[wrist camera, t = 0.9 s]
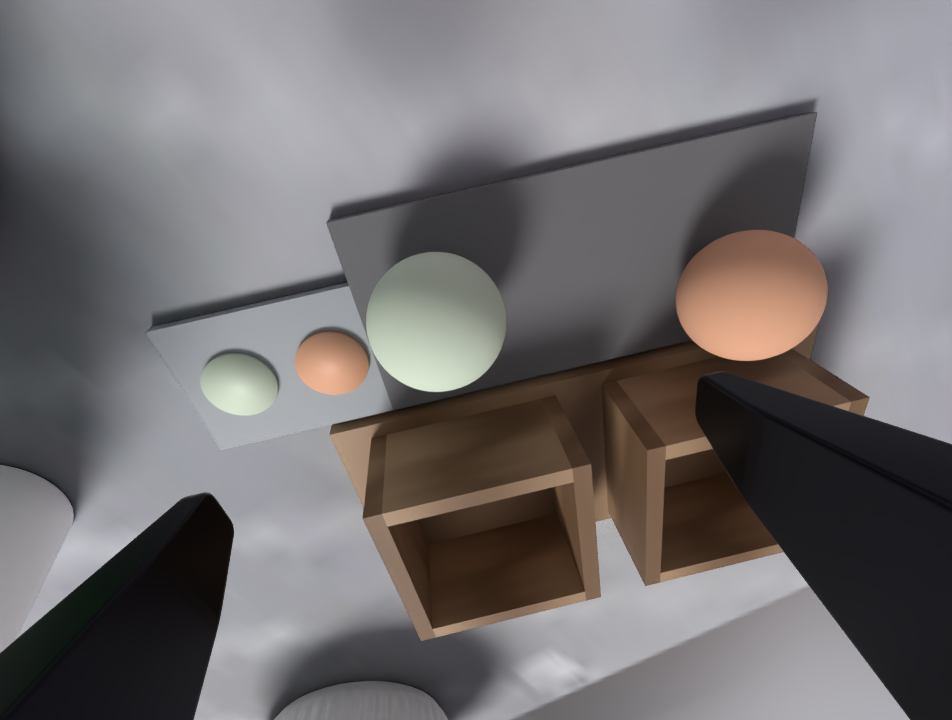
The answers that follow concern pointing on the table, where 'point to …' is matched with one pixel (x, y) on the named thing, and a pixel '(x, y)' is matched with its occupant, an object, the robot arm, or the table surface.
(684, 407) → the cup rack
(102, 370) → the table surface
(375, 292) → the ball sage
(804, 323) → the ball terracotta
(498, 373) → the mat
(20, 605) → the soft serve ice cream cone
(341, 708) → the ramekin
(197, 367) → the card
